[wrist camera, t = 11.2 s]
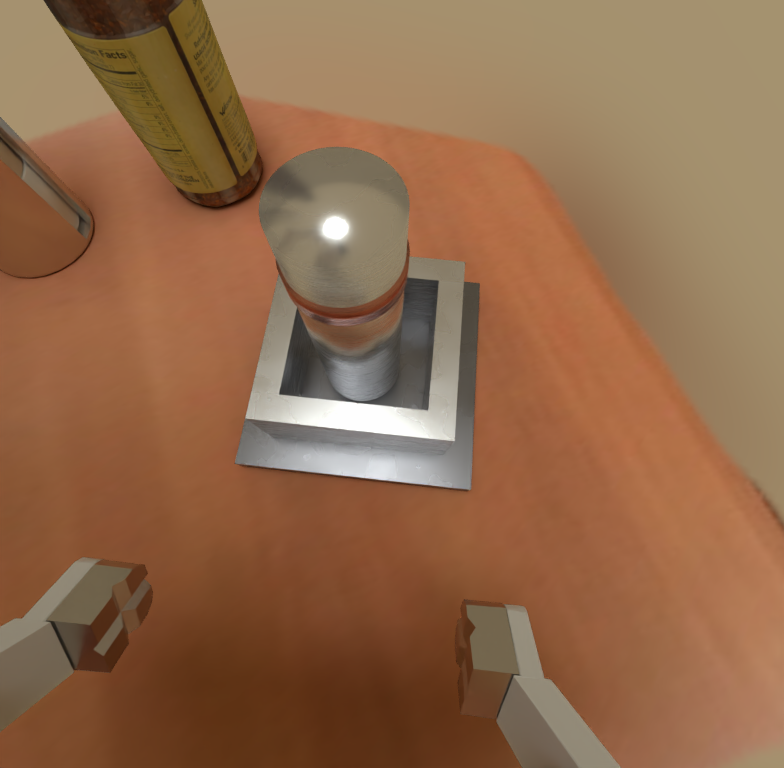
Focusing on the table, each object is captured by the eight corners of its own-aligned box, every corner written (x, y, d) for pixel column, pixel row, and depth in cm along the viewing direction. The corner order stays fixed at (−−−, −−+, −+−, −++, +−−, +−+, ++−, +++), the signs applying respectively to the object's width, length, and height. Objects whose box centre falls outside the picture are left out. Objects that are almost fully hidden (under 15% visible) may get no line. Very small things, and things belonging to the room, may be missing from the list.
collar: (241, 465, 21) (199, 450, 16) (285, 273, 25) (261, 215, 20) (467, 490, 21) (490, 483, 16) (476, 292, 25) (497, 238, 20)
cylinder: (319, 398, 21) (238, 263, 10) (331, 328, 23) (272, 138, 11) (397, 406, 21) (405, 278, 10) (404, 335, 23) (419, 150, 11)
